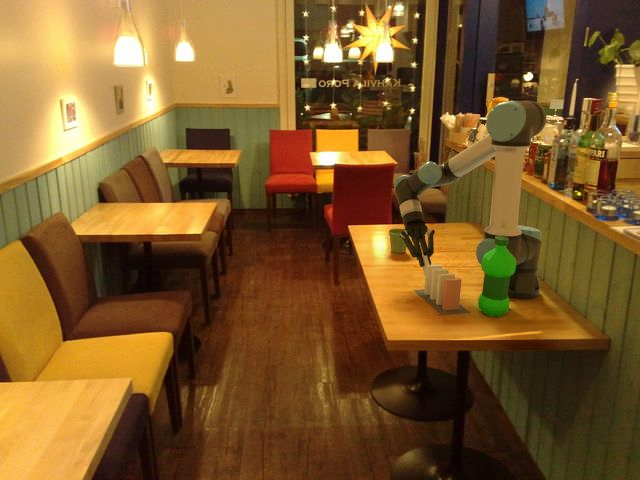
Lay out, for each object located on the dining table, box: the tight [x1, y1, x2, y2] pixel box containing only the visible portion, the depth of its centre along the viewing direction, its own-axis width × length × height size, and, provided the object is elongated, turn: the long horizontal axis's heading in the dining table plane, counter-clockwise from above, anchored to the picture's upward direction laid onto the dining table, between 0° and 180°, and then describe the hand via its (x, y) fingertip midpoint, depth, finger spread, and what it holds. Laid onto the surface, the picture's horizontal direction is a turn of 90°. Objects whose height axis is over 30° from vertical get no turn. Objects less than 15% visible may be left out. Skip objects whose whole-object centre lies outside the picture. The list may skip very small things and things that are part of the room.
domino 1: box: [424, 263, 443, 295], centre depth 203 cm, size 2×5×10 cm, turn 105°
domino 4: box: [442, 277, 463, 310], centre depth 191 cm, size 2×5×10 cm, turn 105°
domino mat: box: [413, 288, 472, 316], centre depth 198 cm, size 22×10×1 cm, turn 15°
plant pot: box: [387, 228, 410, 254], centre depth 251 cm, size 9×9×9 cm
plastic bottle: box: [477, 236, 516, 317], centre depth 187 cm, size 10×10×25 cm
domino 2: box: [430, 268, 450, 300], centre depth 199 cm, size 2×5×10 cm, turn 105°
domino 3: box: [436, 272, 456, 305], centre depth 195 cm, size 2×5×10 cm, turn 105°
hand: (428, 274), depth 207 cm, fingers closed
